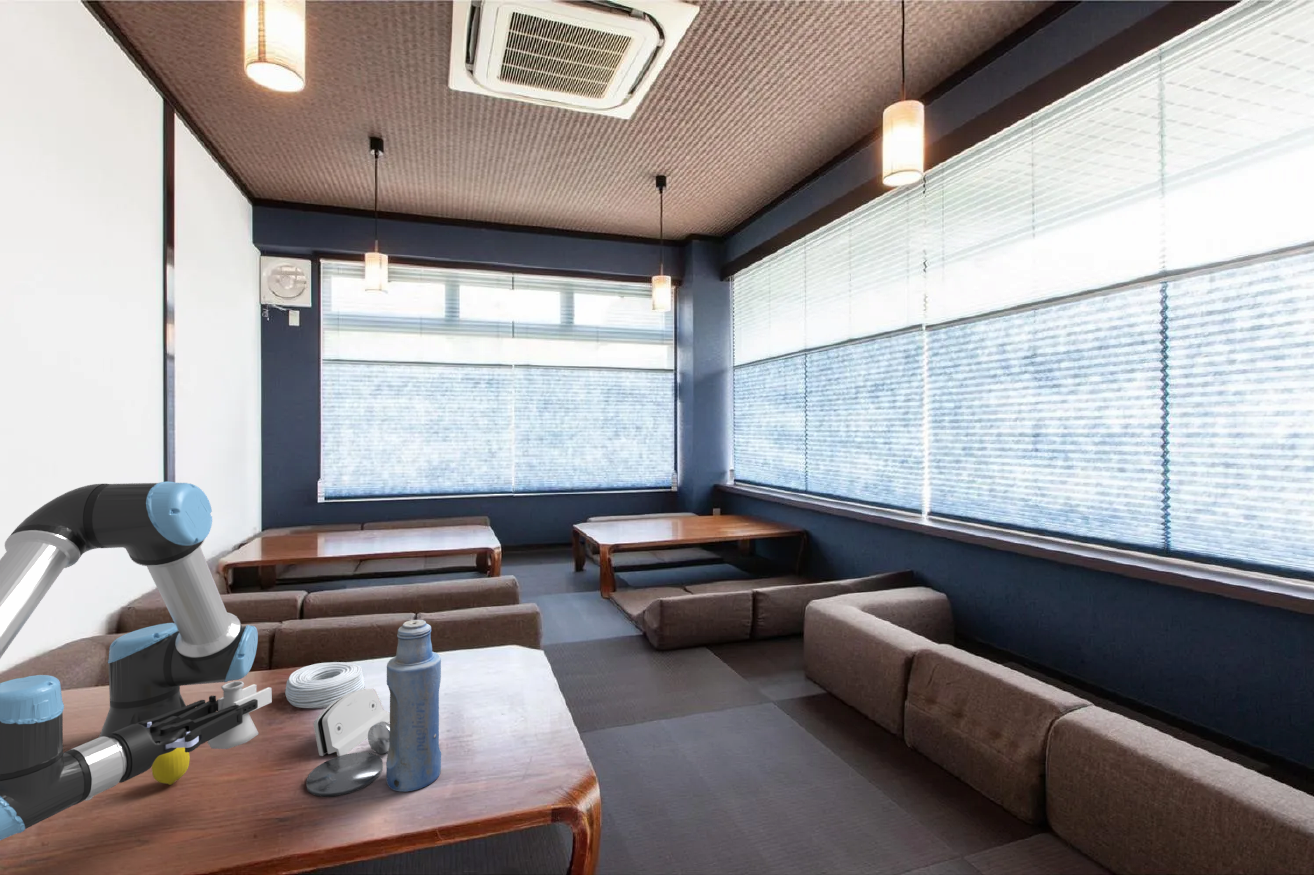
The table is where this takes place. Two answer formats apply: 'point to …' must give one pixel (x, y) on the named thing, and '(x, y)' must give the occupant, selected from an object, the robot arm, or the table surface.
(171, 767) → the lemon
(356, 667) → the cable
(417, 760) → the bottle
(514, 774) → the table surface
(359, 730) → the white flat angled piece
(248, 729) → the flask
